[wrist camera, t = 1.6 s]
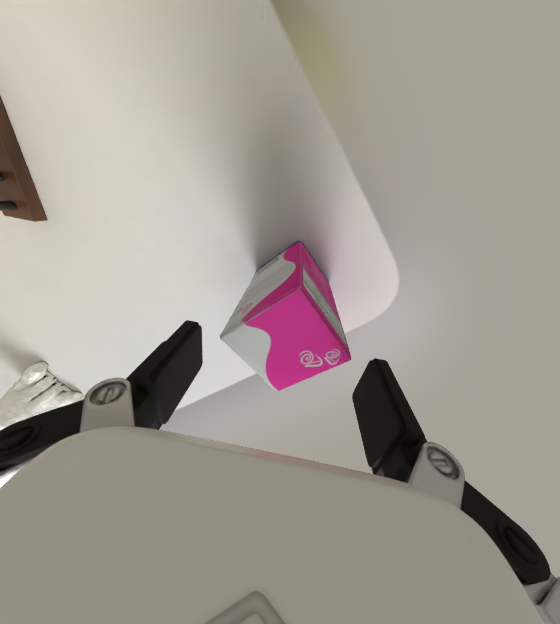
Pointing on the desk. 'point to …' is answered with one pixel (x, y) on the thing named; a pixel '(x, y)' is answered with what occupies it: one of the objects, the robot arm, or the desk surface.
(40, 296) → the desk surface
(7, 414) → the white creature statuette
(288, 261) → the supplement box
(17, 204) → the rack
